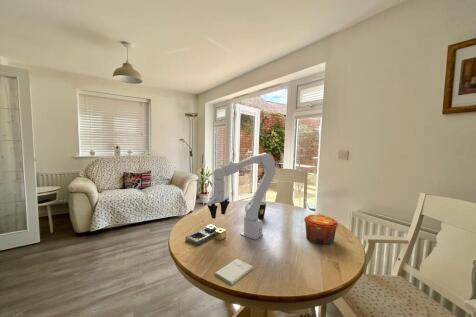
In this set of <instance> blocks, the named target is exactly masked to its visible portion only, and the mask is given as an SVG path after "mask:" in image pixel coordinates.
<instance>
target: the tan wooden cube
mask: <svg viewBox="0 0 476 317" xmlns="http://www.w3.org/2000/svg"><path fill="white" fill-rule="evenodd" d="M218 228H219V229H217V230H215V237H214V239H216V240H219V241H222V240H224V239H226V238H227V229H225V228H224V229H223V228H220V227H218Z"/></svg>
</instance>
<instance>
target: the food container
mask: <svg viewBox="0 0 476 317" xmlns="http://www.w3.org/2000/svg"><path fill="white" fill-rule="evenodd" d="M303 220H304V223H305V225H304V226H305V238H306V240H308V241H309V242H310V243H312V244H315V245H318V244H319V245H318V246H323V245H328V246H331V245H332V244H334V243H335V242H334V240H335V235H336V230H337V228H338V226H339V223H338V222H337V220H335V218H333V217H330V216H325V215H322V214H309V215H307V216H305V217H304V219H303Z"/></svg>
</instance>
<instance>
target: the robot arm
mask: <svg viewBox="0 0 476 317" xmlns="http://www.w3.org/2000/svg"><path fill="white" fill-rule="evenodd" d="M275 162H276V161H275V158H274V155H272V154H270V153H267V152H262V153H257V154H254V155H252V156H249V157H247V158H245V159H243V160H241V161H239V162H236V161H229V163H226V164H224V165H223V164H222V165H220V166H219V167H216V168H215V170H213V174H212V175H213V191H212V192H213V193H212V194H213V196H212V197H211V200H209V201H207V204H206V205H207V209H208V210H209V213H210V216H211V218H212V219H216V218H217V210H218V207H219V206H218V205H216V204H218V203H219V205H220V214H221V215H226V211H227V208H228V207H229V205H230V196H228V195H225V191H226V190H225V188H226V187H225V182H226V181H225V177H228V176H231V175H233V174H236V173H238V172H239V171H240V169H242V168H244V167H246V166H250V165H252V164H256V165H257V164H258V165H261V166H262V167H263V169H264V174H263V176H262V178H261V180H260V182H259V184H258V187H257V188H256V191H255V192H254V194H253V196H252V198H251V199H250V200H249V202H248V203H247V204H246V205H245V207H244V211H245V214H244V218H243V231H242V232H241V233H240V235H241V236H244V237H246V238H248V239H249V238H250V239H252V240H257V239H259V238H260V237H262V236H263V235H264V233H263V229H264V228H263V226H264V225H263V224H264V223H263V221H262V220H259V219H258V211H259V208H260V203H261V201H263V199H264V197H265V195H266V193H267V191H268V189H269V187H270V185H271V183H272V181H273V179H274V178H275V175H276V163H275Z"/></svg>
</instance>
